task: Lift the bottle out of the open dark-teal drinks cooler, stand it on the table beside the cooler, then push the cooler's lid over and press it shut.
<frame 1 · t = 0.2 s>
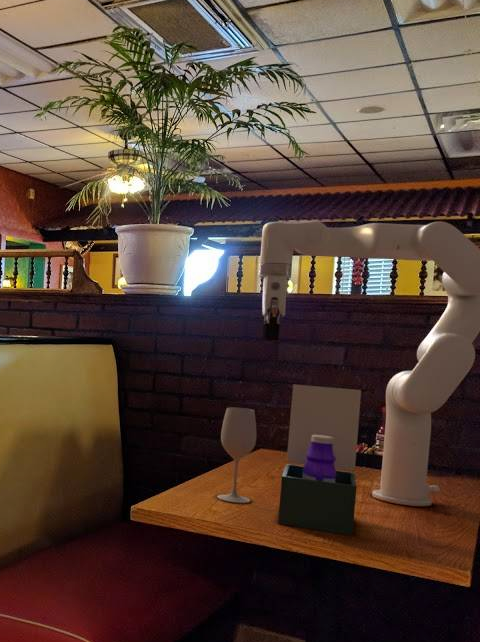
hand: (269, 339, 190), 37 cm above the table, tool pointing down, fingers open, 9 cm apart
cooler lid: (323, 426, 165), point 19 cm above the table, hinge at 100.0°
wineglass: (233, 500, 173), on the table
cooler: (315, 520, 158), on the table
bottle: (315, 519, 156), point 1 cm above the table, touching cooler
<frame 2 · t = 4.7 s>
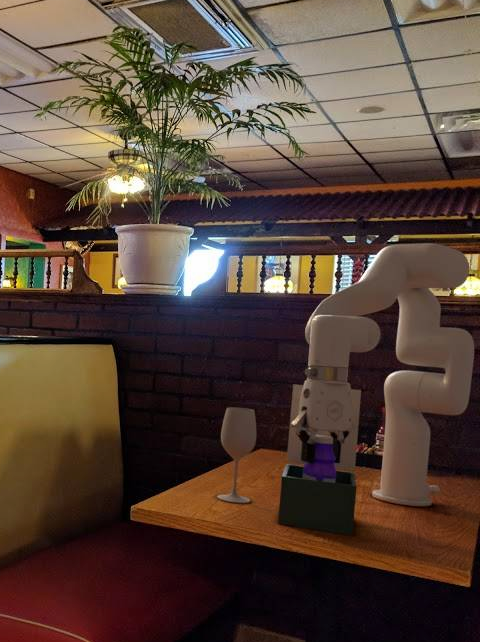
hand: (320, 461, 155), 13 cm above the table, tool pointing down, fingers closed on bottle, 5 cm apart
bottle: (315, 519, 156), point 1 cm above the table, touching cooler, gripper
everything else where it was.
when the fingers open (12 cm above the table, at t = 13.5 s): bottle stays where it is, on the table.
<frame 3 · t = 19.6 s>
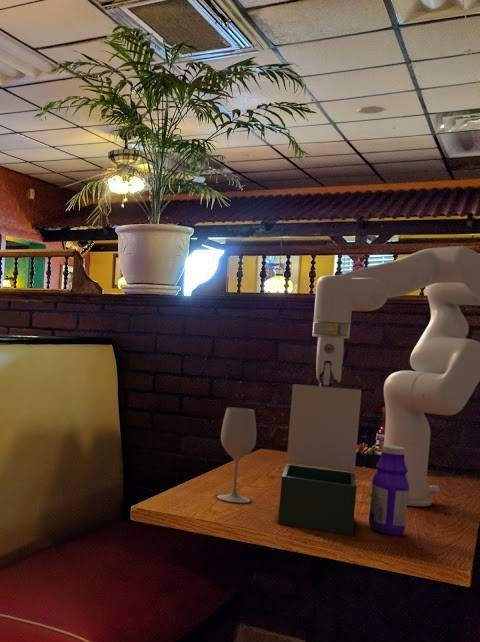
hand: (323, 412, 168), 22 cm above the table, tool pointing down, fingers closed
cooler lid: (323, 426, 165), point 19 cm above the table, hinge at 94.1°
bottle: (386, 532, 152), on the table
everything else where it was.
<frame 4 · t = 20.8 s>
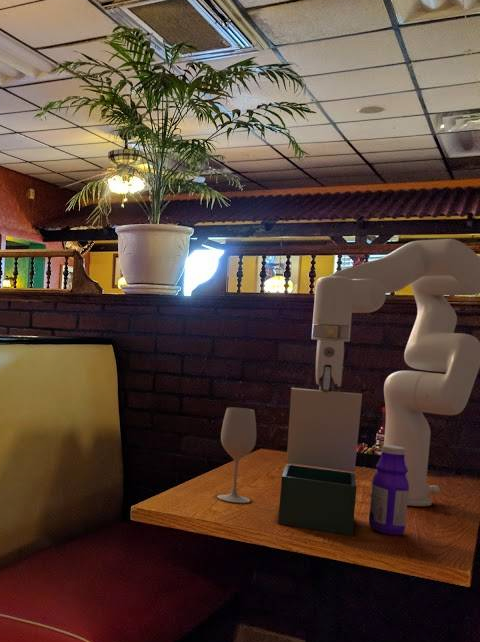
hand: (323, 417, 163), 21 cm above the table, tool pointing down, fingers closed
cooler lid: (323, 429, 162), point 19 cm above the table, hinge at 74.8°
everything else where it was.
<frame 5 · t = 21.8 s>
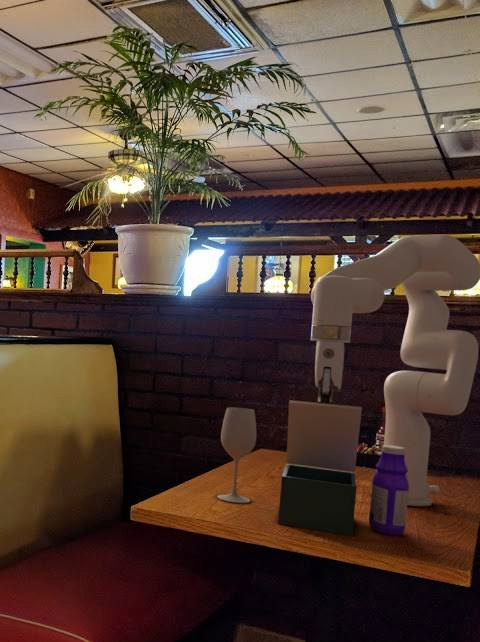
hand: (323, 420, 159), 21 cm above the table, tool pointing down, fingers closed
cooler lid: (322, 436, 160), point 17 cm above the table, hinge at 55.4°
everything else where it was.
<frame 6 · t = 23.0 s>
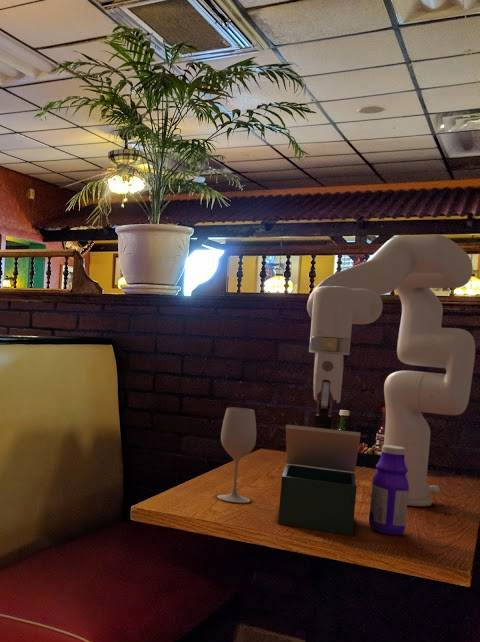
hand: (322, 435, 154), 18 cm above the table, tool pointing down, fingers closed
cooler lid: (321, 448, 158), point 15 cm above the table, hinge at 33.4°, touching gripper
everything else where it was.
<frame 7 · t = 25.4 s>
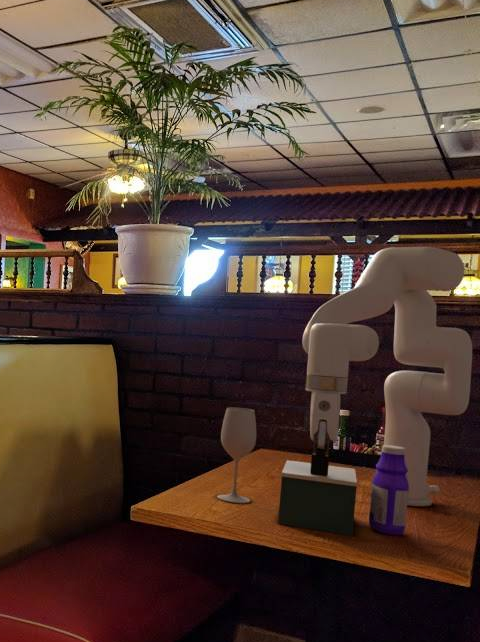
hand: (318, 474, 152), 11 cm above the table, tool pointing down, fingers closed
cooler lid: (319, 472, 157), point 10 cm above the table, hinge at 0.3°, touching gripper
everything else where it was.
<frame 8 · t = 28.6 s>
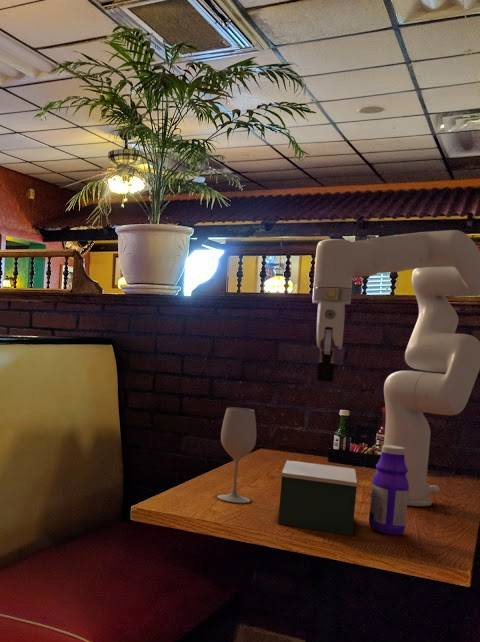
hand: (324, 380, 163), 29 cm above the table, tool pointing down, fingers closed
cooler lid: (319, 472, 157), point 10 cm above the table, hinge at 0.2°
everything else where it was.
at the end: bottle inside the target area (0.1 cm from its centre), on the table; bottle tilted 0°; cooler lid at +0° (first picture: +100°) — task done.
